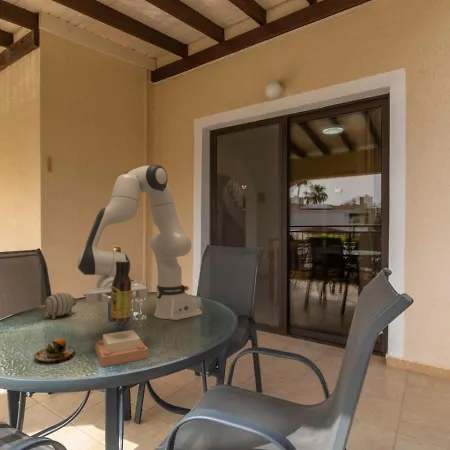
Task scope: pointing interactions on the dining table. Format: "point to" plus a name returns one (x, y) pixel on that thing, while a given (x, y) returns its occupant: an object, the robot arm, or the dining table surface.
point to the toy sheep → (59, 304)
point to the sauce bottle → (121, 293)
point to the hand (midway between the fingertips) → (121, 298)
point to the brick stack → (120, 348)
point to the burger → (56, 352)
